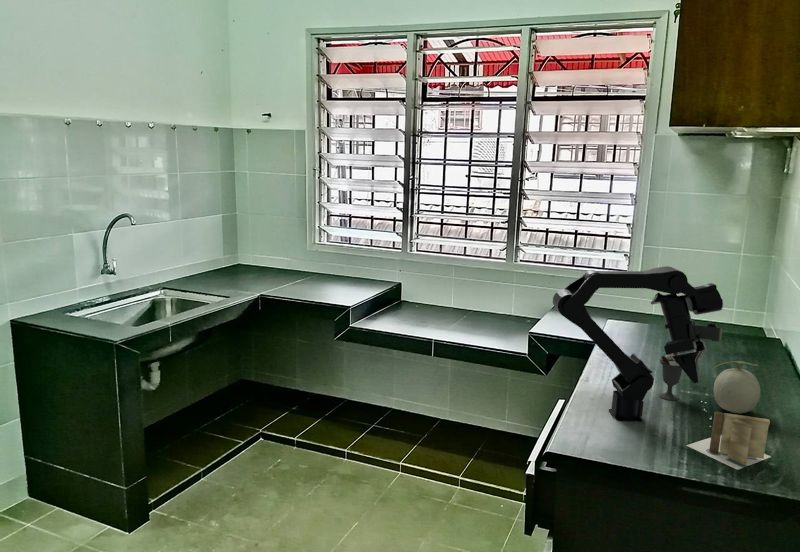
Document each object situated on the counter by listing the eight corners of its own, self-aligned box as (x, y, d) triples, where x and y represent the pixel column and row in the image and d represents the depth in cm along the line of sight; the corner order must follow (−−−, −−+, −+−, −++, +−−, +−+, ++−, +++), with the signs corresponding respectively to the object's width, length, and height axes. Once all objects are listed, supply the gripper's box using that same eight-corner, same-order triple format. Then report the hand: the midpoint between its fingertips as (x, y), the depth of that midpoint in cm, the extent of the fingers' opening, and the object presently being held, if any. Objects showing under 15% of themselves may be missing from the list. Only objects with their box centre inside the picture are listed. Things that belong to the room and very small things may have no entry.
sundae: (683, 396, 166) (690, 344, 163) (679, 404, 160) (686, 350, 158) (658, 390, 169) (664, 339, 167) (653, 398, 164) (659, 345, 161)
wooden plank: (707, 451, 134) (712, 412, 132) (712, 449, 134) (717, 411, 133) (742, 467, 127) (748, 426, 125) (747, 465, 128) (753, 425, 126)
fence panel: (720, 452, 132) (725, 415, 130) (718, 449, 133) (724, 412, 132) (764, 459, 130) (770, 421, 128) (762, 456, 131) (768, 419, 129)
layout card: (686, 446, 136) (686, 445, 136) (719, 435, 142) (719, 434, 142) (737, 470, 126) (737, 469, 126) (771, 457, 132) (771, 456, 132)
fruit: (712, 399, 165) (719, 346, 162) (760, 411, 157) (768, 356, 155) (702, 410, 157) (710, 355, 154) (752, 423, 149) (761, 366, 147)
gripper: (707, 307, 133) (728, 377, 129) (719, 312, 148) (738, 375, 144) (655, 319, 139) (674, 387, 135) (672, 323, 154) (689, 383, 150)
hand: (696, 382), depth 141 cm, fingers closed
